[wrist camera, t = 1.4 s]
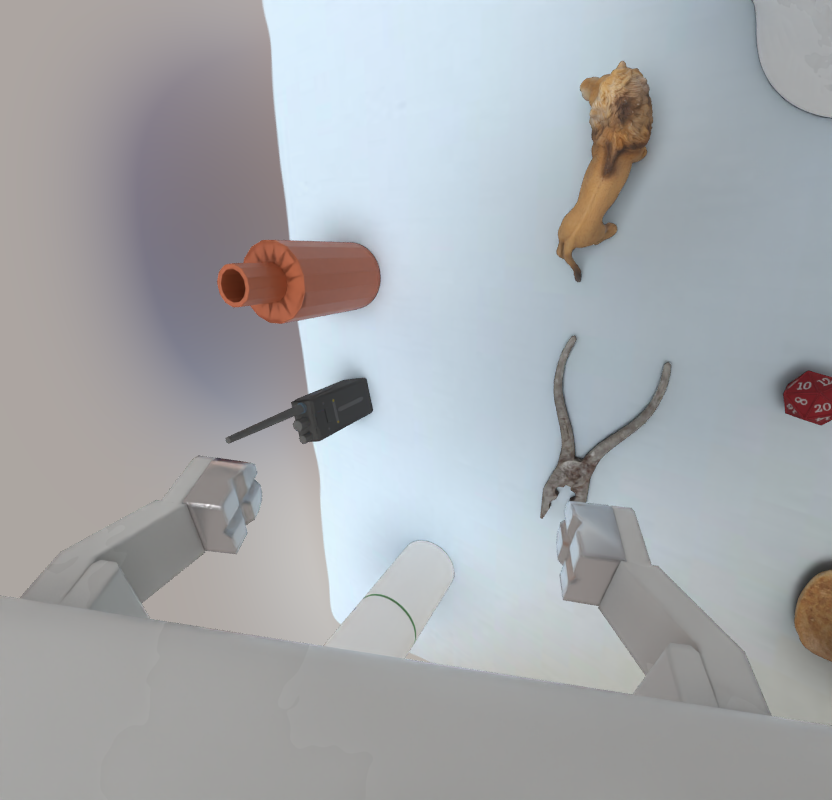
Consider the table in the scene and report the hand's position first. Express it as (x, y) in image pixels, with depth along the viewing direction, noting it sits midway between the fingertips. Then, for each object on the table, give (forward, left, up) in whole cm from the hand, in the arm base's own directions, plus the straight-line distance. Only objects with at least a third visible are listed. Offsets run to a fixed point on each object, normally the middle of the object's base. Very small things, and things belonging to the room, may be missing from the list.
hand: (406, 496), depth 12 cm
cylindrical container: (+35, -2, -36) cm, 51 cm away
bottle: (+6, -25, -36) cm, 44 cm away
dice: (-3, +18, -36) cm, 41 cm away
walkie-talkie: (+19, -19, -36) cm, 45 cm away
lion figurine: (-11, -4, -36) cm, 38 cm away
